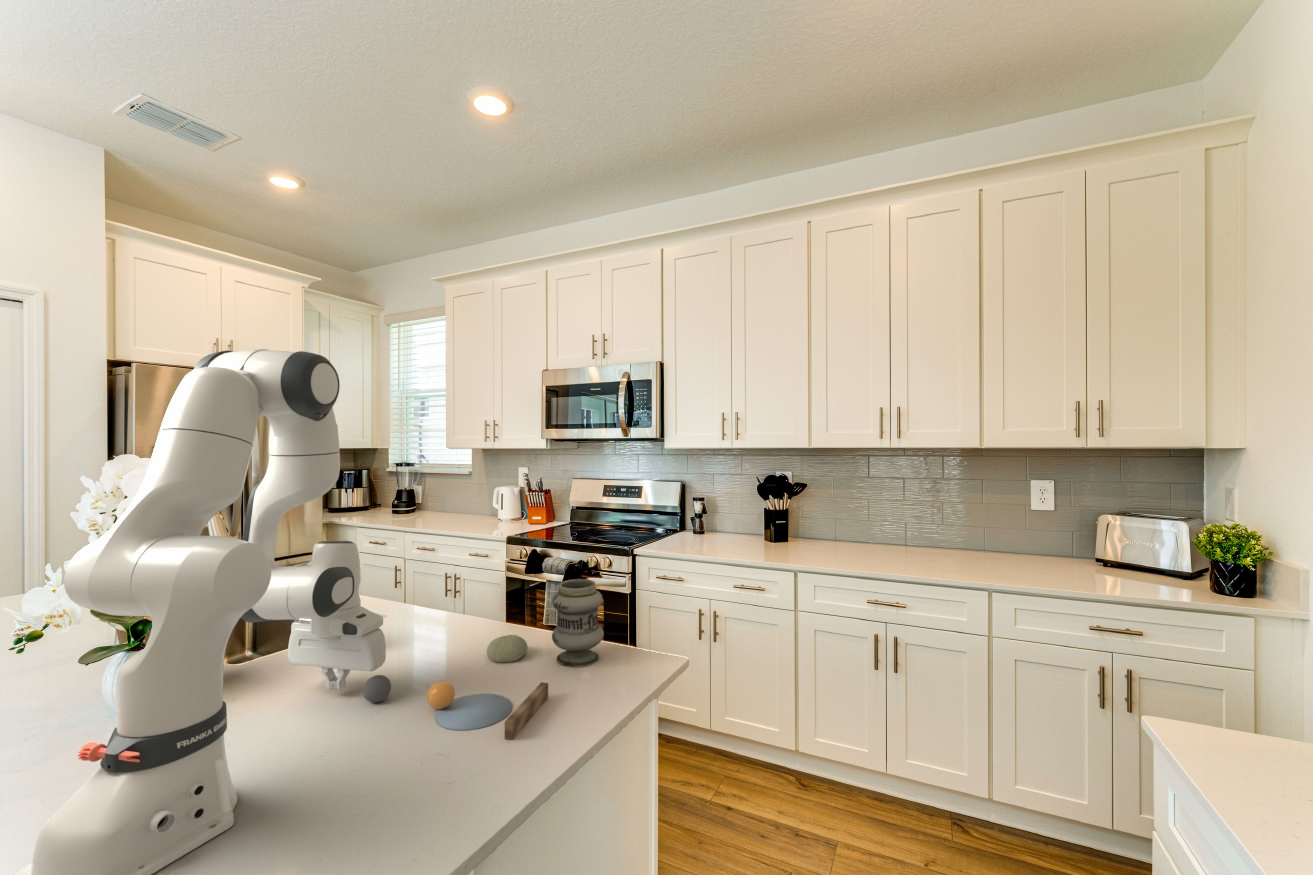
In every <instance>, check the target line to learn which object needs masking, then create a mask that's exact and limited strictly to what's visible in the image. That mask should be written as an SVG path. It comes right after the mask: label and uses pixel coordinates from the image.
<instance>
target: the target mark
mask: <svg viewBox="0 0 1313 875" xmlns="http://www.w3.org/2000/svg"><path fill="white" fill-rule="evenodd" d="M512 710H513V703H512V702H511V700H510V699H509V698H508V697H506V696H503V695H500V694H496V693H476V694H469V695H464V696H461V697H457V698H454V699H453V701H452V703H451V704H450V705H449V706H448V707H446V708H444V709H437V710H436V713H435V714H434V720H436V721H435V722H436V724H437V725H438V724H439V725H438V726H440V727H441V726H442V727H441V728H444V729H446V728H447V729H446V730H452V731H471V730H480V729H483V728H486V727H490V726H493V725H495V724H497V723H499V722H501V721H502V720H504V719H505V718H507V717H508V716H510V713H511V712H512Z"/></svg>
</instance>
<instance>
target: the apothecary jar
mask: <svg viewBox="0 0 1313 875" xmlns="http://www.w3.org/2000/svg"><path fill="white" fill-rule="evenodd" d="M595 582H596V581H594V580H592V579H587V578H586V579H585V578H577V579H568V580H565V581H562V582H561V583H560V584H559V585H558V591H557V592H556V593H555V594H554V595H553V596H552V599H551V600H552V601H551V602H552V603H551V604H552V606H553V608H554V609H555V610H556V615H557V616H556V617H557V621H556V622H557V623H556V627H555V628H554V629H553V631H552V634H551V640H552V642H553V643H554V645H555V646H556V647H557V648H559V649H561V650H564V651H563V652H561V653H559V654H558V655H557V657H556V662H557V663H558V665H561V666H563V667H567V666H568V667H570V668H584V667H588V666H592V665H594V664H595V663H597V662H598V660H599V657H600V656H599V654H598V653H597V652H596V651H593V650H592V649H593V648H594V647H596V646H598V645H599V644H600V643H601V642H602V641H603V639H604V635H605V634H604V630H603V627H602V626H601V625H600V624H599V616H598V611H599V607H601V605H602V604H603V601H604V600H603V599H604V598H603V594H601V592H600V591H598V590H597V588H596V583H595Z"/></svg>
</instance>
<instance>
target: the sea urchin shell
mask: <svg viewBox="0 0 1313 875" xmlns="http://www.w3.org/2000/svg"><path fill="white" fill-rule="evenodd" d="M527 651H528V643H527V642H526V640H525V639H524V638H523V637H522V636H519V635H515V634H508V635H503V636H499V637H496V638H495V639H493V640H491V641H490V642H489V644H488V646H487V648H486V655H487V657H488V659H489V660H491V661H492V662H494V663H501V664H502V663H512V662H515V661H518V660H519V659H522V658H523V657H524V656H525V655H526V653H527Z"/></svg>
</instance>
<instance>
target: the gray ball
mask: <svg viewBox="0 0 1313 875" xmlns="http://www.w3.org/2000/svg"><path fill="white" fill-rule="evenodd" d="M391 683H392V682H391V680H390V679H389V677H388V676H386V675H384V674H377V675H373V676H371V677H370V678H369V679H368V680H367V681H365V683H364V685H363V688H362V691H363V692H362V693H363V697H364V699H365V700H366V701H368V702H370V703H376V704H377V703H380V702H382V701H384V700H386V698H388V696H389V695H390V693H391V690H392V684H391Z"/></svg>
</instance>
